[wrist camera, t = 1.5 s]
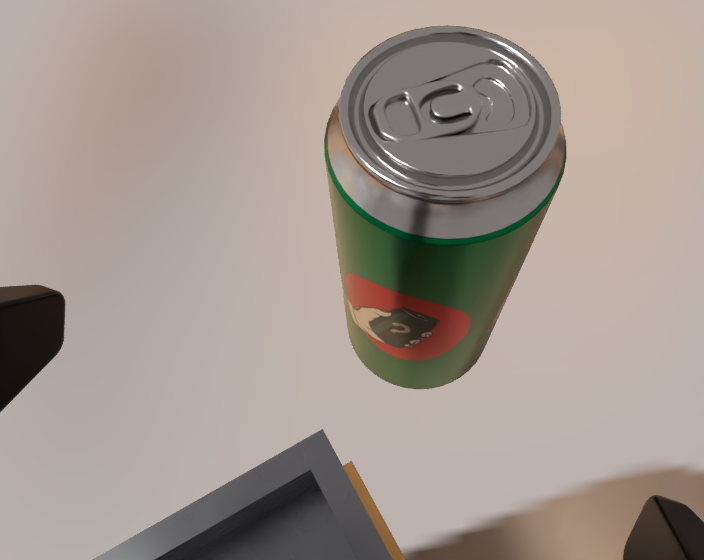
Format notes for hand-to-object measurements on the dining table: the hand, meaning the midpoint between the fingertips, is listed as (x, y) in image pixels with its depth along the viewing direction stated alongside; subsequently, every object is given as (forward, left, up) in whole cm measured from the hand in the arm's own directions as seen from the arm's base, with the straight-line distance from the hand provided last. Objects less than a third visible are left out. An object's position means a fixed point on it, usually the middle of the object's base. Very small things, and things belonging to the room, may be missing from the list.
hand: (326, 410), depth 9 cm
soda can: (+5, +4, -13) cm, 14 cm away
